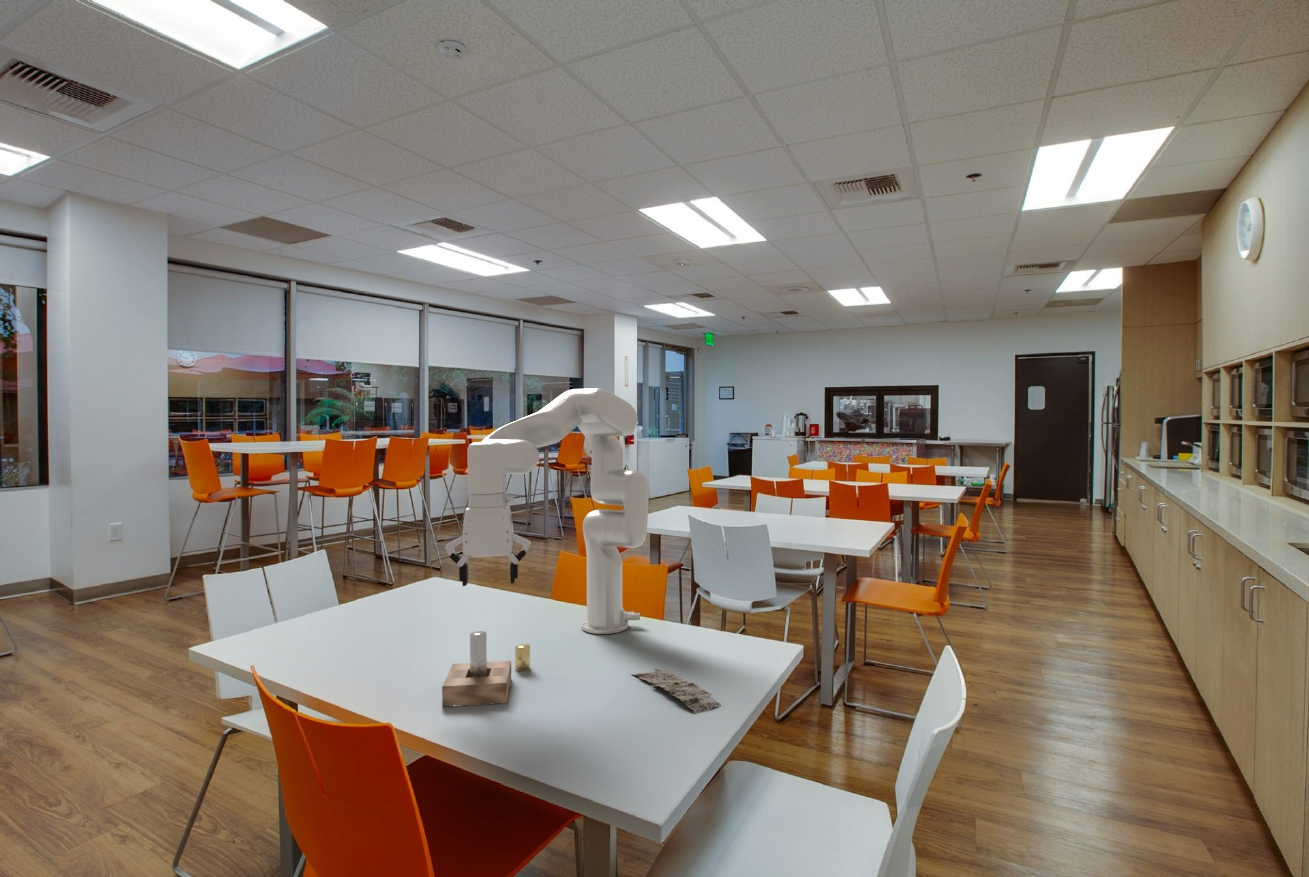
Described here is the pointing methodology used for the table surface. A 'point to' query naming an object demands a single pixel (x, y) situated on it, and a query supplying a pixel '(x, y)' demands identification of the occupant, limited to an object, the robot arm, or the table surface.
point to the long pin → (478, 654)
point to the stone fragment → (681, 690)
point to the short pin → (522, 657)
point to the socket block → (477, 685)
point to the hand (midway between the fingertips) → (489, 583)
